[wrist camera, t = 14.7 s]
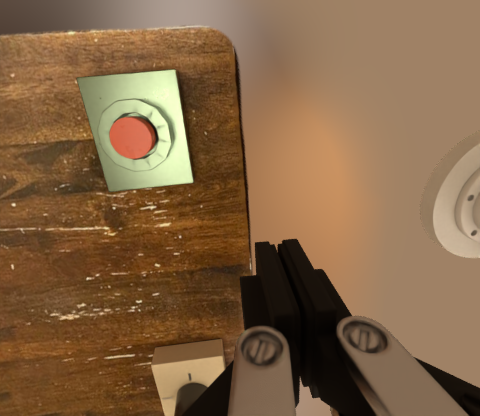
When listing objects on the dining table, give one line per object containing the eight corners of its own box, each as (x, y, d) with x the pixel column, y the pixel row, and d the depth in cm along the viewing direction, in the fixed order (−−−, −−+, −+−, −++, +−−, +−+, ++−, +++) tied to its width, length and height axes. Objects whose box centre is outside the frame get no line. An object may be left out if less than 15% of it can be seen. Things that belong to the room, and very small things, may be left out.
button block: (195, 177, 30) (192, 187, 27) (116, 186, 30) (102, 197, 26) (178, 71, 26) (172, 66, 23) (86, 79, 26) (65, 75, 22)
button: (159, 153, 26) (155, 156, 24) (121, 157, 25) (115, 161, 24) (151, 114, 24) (146, 115, 23) (111, 118, 24) (104, 119, 22)
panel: (229, 398, 45) (230, 419, 42) (170, 407, 44) (167, 428, 42) (221, 338, 40) (222, 357, 37) (155, 347, 39) (150, 366, 36)
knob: (196, 377, 38) (194, 418, 33) (217, 394, 40) (217, 435, 35) (169, 393, 39) (163, 435, 34) (191, 409, 41) (187, 451, 36)
